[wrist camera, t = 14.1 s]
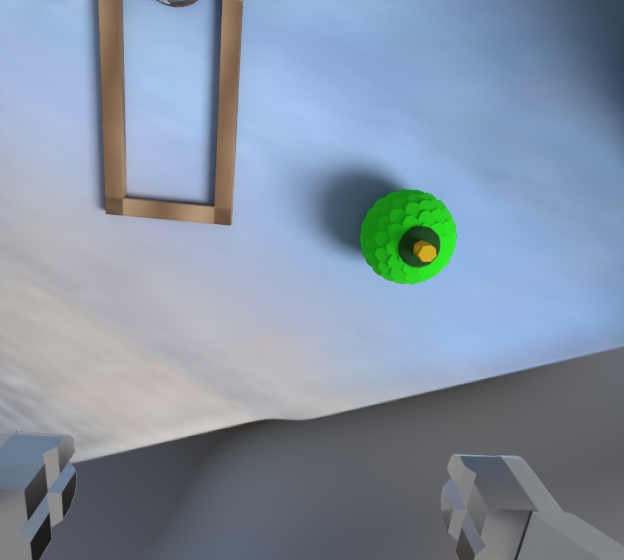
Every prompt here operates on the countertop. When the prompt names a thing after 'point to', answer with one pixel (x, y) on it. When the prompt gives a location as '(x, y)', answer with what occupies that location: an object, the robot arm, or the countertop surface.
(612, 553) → the robot arm
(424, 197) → the ornament
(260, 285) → the countertop surface
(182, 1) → the supplement bottle
